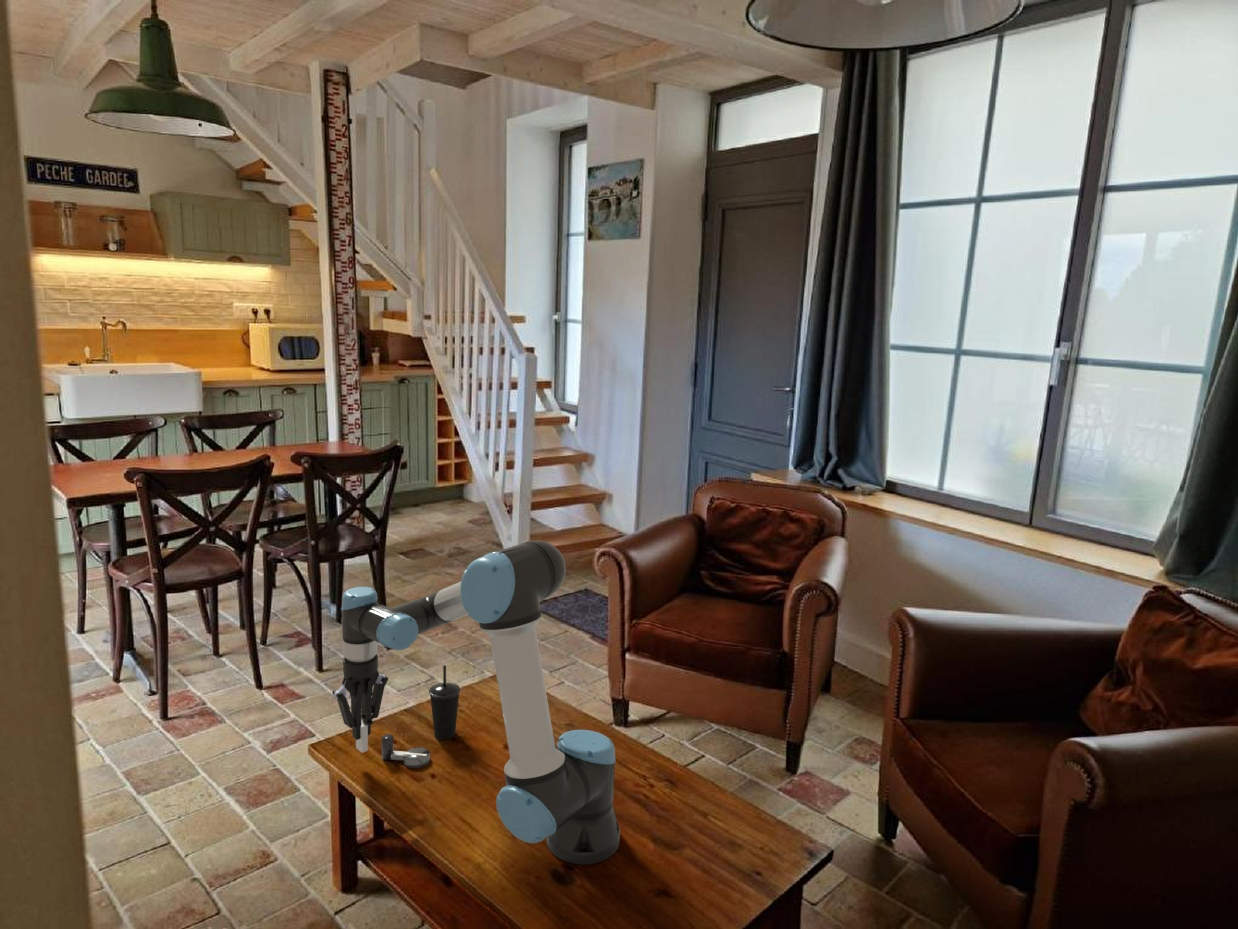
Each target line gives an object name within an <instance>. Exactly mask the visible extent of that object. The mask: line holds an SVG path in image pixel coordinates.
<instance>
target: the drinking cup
mask: <svg viewBox="0 0 1238 929" xmlns="http://www.w3.org/2000/svg"><path fill="white" fill-rule="evenodd" d="M442 668H443V669H442V670H443V672H442V673H443V675H442V676H443V677H442V679H443V680H442V681H443V682H439V683H436V684H433V685H432V686H430V688H429V689H428V693H429V694H428V695H429V696H430V704H431V716H432V723H433V724H432V726H433V733H434V737H435V739H436V740H439V741H448V740H451V739H453V738H454V737H455V736H456V729H457V722H458V720H457V718H458V709H459V708H458V707H459V698H460V693H461V686H460V685H459V684H456V683H454V682H447V666H446V665H445V664H444V665H442Z"/></svg>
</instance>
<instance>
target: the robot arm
mask: <svg viewBox="0 0 1238 929" xmlns="http://www.w3.org/2000/svg"><path fill="white" fill-rule="evenodd" d="M566 565H567V564H566V561H565V558H564V556H563V554H562V553H561V551H560V550H559V549H558V548H557V547H556V546H555V545H553V544H552V543H550V542H548V541H543V540H538V539H537V540H529V541H525V542H522V543H520V544H517V545H513V546H510V547H505V548H503V549H500V550H495V551H493V552H488V553H486V554H485V555H483V556H482V557H479V558H476V559H475V560H473V561H471V563H469V564H468V566H467V567H466V569H465V570H464V572H463V573H462V576H461V580H460V581H458V582H457V583H454V584H452V585H448V586H447V587H445V588H442V589H441V590H440V589H439V590H438V591H435V592H432V593H430V594H428V595H425V596H422V597H420V598H417V599H414V600H410V601H408V602H404V603H401V604H399V605H397V606H393V607H388V606H387V605H386V606H385V605H384V604H381V603H378V599H379V598H378V593H377V591H376V589H374V588H373V587H369V586H356V587H355V586H354V587H352V588H348V589H347V590H345V591H344V592H343V594H342V596H341V608H340V611H341V630H342V656H343V658H342V671H343V679H342V683H341V686H340V687H339V688H338V689H333V691H332V695H333V696H334V697H335V698H336V700H337V704H338V707H339V710H340V714H341V718H342V721H343V724H345V725H346V726H347V727H348V728H349V729H352V737H353V739H355V749H357V751H359V752H360V753H361V754H363V753H365V752H367V751H368V750H369V736H370V735H371V732H372V730H371V727H372V726H371V725H373V724H374V721H373V720H374V719H378V717H379V715H380V710H381V705H382V700H383V695H384V692H385V687H386V685H387V684H388V681H389V677H388V676H386V675H385V674H383V673H380V672H379V657H378V656H379V655H378V652H379V650H378V649H379V647H378V646H379V645H378V644H380V645H381V646H383V647H385V648H389V649H393V650H396V651H405V650H406V649H408V648H409V647H410V646H411V645H412V644H413V643H415V641H416V639H417V637H418V636H419V635H420V634H423V633H425V632H427V631H430V630H433V629H436V628H438V627H441V626H444V625H446V624H450V623H453V621H456V620H459V619H461V618H464V617H467V616H469V618H471V619H472V621H475V623H479V624H478V625H479V630H481V631H482V632H483V633H486V634H487V635H488V636H489V638H490V639H489V640H490V644H491V645H490V646H491V652H492V657H493V663H494V669H495V670H494V671H495V675H496V680H497V681H496V682H497V686H498V687H497V688H498V694H499V698H500V703H501V709H502V716H503V723H504V728H505V733H506V735H505V736H506V741H507V746H508V752H509V759H508V761H507V762H506V763H505V765H504V767H503V771H504V778H505V784H506V786H504V787H501V789H500V791H499V793H498V794H497V796H496V799H495V802H496V805H495V806H496V811H497V813H498V816H499V818H500V820H501V822H502V823H503V826H504V827H505V828H506V829H507V830H508V831H509V832H510V833H511V834H512V835H513V836H514V837H515V838H517V839H518V840H521V841H522V842H525V843H528V844H537V843H541V842H542V841H544V840H545V839H546V844H547V848H548V849H549V851H550V852H551V854H553V855H554V856H555V857H556V858H558V859H559V860H562V861H564V862H565V863H570V864H574V865H580V866H581V865H585V866H586V865H593V864H594V865H595V864H597V863H601V862H603V861H605V860H607V859H609V858H611V857H612V856H613V855H614V854H615V853H616V852H617V850H618V848H619V846H620V838H621V836H620V835H621V832H620V831H621V829H620V825H619V822H618V820H617V817H616V813H615V809H614V806H613V805H614V790H615V789H614V786H615V782H614V781H615V770H616V769H615V766H616V760H617V758H616V750H615V749H616V748H615V745H614V743H613V741H612V740H611V739H610V738H609V737H607V736H606V735H605V734H602V733H601V732H597V731H594V730H589V729H588V730H587V729H574V730H573V729H571V730H569V731H565V732H564V733H562V734H561V735H560V736H559V737H558V739H557V744H555V738H554V733H553V732H554V731H553V726H552V719H551V715H550V709H549V708H550V706H549V702H548V697H547V695H548V694H547V690H546V684H545V678H544V672H543V671H544V670H543V666H542V660H541V654H540V648H539V642H538V636H537V635H538V634H537V630H536V629H537V628H536V626H537V625H538V623H539V622H540V621H541V619H542V609H541V604H540V602H541V601H544V600H545V599H547V598H549V597H551V596H552V595H554V594H555V593H556V592H557V591H558V590H559V589H560V588H561V587H562V585H563V584H564V581H565V578H566V573H567V566H566ZM347 692H349V697H350V705H349V702H348V699H347Z"/></svg>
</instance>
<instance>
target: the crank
mask: <svg viewBox="0 0 1238 929" xmlns="http://www.w3.org/2000/svg"><path fill="white" fill-rule="evenodd" d="M381 759H382V760H383V761H390V760H394V761H403V765H404V766H405V767H407V768H411V769H418V768H423V767H425V766H427V765H428V764H429V763H430V760H431V752H430V750H429V749H427V748H425V747H413V748H409V749H408V750H406V751H401V750H394V735H392V734H390V733H386V734H384V735H382V736H381Z"/></svg>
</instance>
